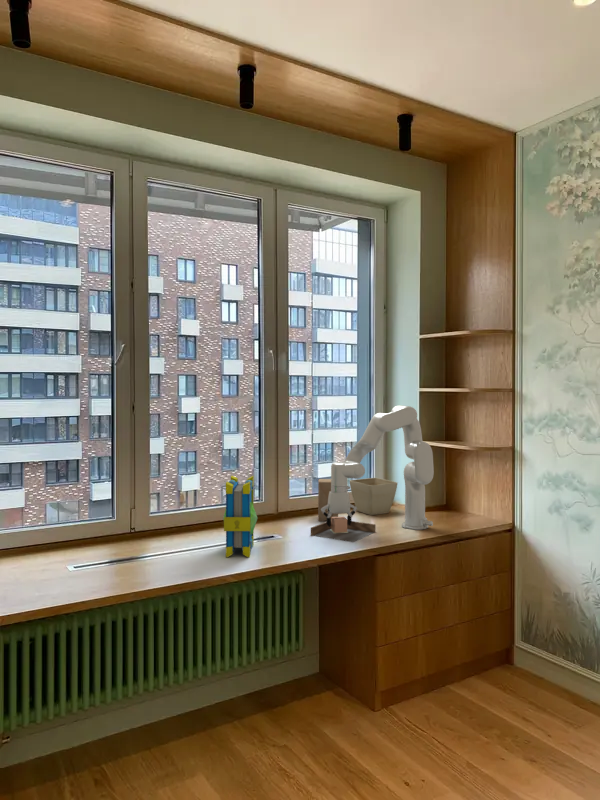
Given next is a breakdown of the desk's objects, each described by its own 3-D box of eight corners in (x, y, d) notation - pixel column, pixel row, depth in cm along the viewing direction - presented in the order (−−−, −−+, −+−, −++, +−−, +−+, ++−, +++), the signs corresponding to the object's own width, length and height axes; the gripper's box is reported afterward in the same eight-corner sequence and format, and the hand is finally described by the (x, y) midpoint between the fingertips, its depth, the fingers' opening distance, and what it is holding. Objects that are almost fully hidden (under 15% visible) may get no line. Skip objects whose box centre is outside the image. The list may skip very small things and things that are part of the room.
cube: (343, 529, 291) (343, 516, 291) (347, 532, 285) (347, 519, 285) (331, 529, 290) (331, 517, 290) (334, 532, 284) (334, 519, 284)
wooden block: (338, 521, 310) (338, 481, 309) (318, 521, 310) (318, 481, 310) (337, 517, 320) (337, 478, 319) (318, 516, 320) (318, 478, 320)
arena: (375, 532, 286) (375, 524, 286) (353, 543, 268) (353, 534, 268) (334, 526, 298) (334, 518, 298) (310, 536, 280) (310, 527, 279)
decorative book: (219, 558, 244) (219, 483, 243) (227, 543, 267) (227, 474, 266) (255, 558, 244) (255, 483, 243) (259, 543, 267) (259, 474, 266)
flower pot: (398, 513, 329) (398, 482, 329) (370, 517, 319) (370, 485, 319) (375, 507, 345) (375, 477, 345) (348, 511, 335) (348, 480, 335)
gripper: (354, 487, 293) (354, 522, 293) (319, 488, 289) (319, 524, 289) (359, 489, 285) (359, 526, 286) (323, 491, 282) (323, 528, 282)
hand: (339, 525), depth 288 cm, fingers open, 9 cm apart
